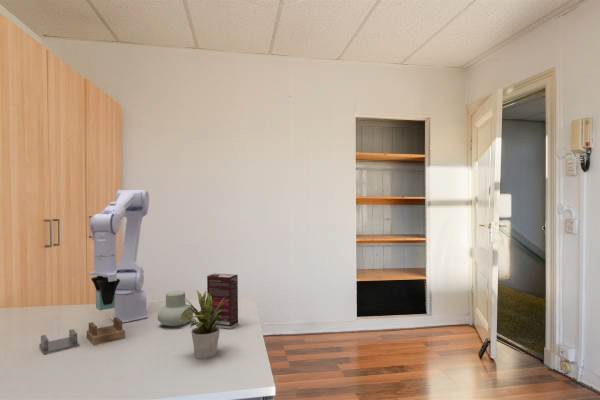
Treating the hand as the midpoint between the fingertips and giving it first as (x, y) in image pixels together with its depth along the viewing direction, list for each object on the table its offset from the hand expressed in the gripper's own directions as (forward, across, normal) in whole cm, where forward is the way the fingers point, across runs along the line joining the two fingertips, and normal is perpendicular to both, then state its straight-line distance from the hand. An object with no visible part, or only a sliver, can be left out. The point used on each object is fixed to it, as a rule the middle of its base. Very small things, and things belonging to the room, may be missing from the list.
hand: (105, 302), depth 107 cm
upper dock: (+10, 0, 0) cm, 10 cm away
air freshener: (+10, +2, +20) cm, 23 cm away
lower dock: (+10, -2, -11) cm, 15 cm away
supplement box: (+10, +14, +30) cm, 35 cm away
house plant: (+10, +29, +15) cm, 34 cm away
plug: (+1, 0, 0) cm, 1 cm away
